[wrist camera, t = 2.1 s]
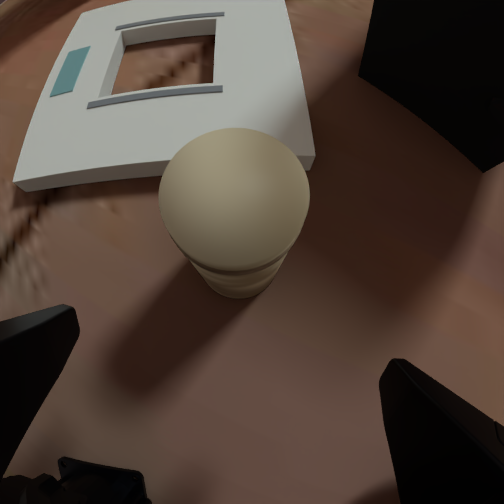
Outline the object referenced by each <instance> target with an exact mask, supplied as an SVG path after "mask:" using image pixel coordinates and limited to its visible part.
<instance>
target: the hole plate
mask: <svg viewBox="0 0 504 504" xmlns="http://www.w3.org/2000/svg"><path fill="white" fill-rule="evenodd" d="M214 34H216V35H215V53H214V74H213V83H206V84H193V85H182V86H172V87H163V88H155V89H147V90H140V91H134V92H127V93H121V94H116V95H111V93H112V89H113V86H114V82H115V79H116V76H117V72H118V69H119V66H120V63H121V60H122V57H123V54H124V51H125V48H126V46H127V45H132V44H138V43H143V42H150V41H156V40H163V39H171V38H179V37H189V36H200V35H214ZM224 128H246V129H252V130H256V131H260V132H263V133H265V134H268V135H270V136H272V137H274V138H276V139H277V140H279V141H280V142H282V143H283V144H284V145H286V146H287V147H288V148H289V149H290V150H291V151H292V152H293V153H294V154H295V155H296V157H297V158H298V160H299V161H300V163H301V164H302V166H303V168H304V170H310V169H311V166H312V164H313V161H314V159H315V156H316V155H315V148H314V142H313V136H312V130H311V124H310V118H309V112H308V107H307V101H306V96H305V91H304V86H303V80H302V75H301V70H300V66H299V61H298V56H297V52H296V47H295V43H294V38H293V34H292V29H291V25H290V21H289V17H288V13H287V9H286V5H285V1H284V0H131V1H127V2H122V3H118V4H114V5H110V6H106V7H102V8H98V9H94V10H91V11H87V12H84V13H82V14H81V16H80V17H79V19H78V21H77V22H76V24H75V26H74V28H73V29H72V31H71V33H70V35H69V37H68V39H67V40H66V42H65V44H64V46H63V48H62V50H61V52H60V54H59V56H58V58H57V60H56V62H55V64H54V66H53V68H52V71H51V73H50V75H49V77H48V79H47V82H46V84H45V86H44V89H43V91H42V94H41V96H40V98H39V101H38V104H37V106H36V109H35V111H34V114H33V117H32V120H31V122H30V125H29V128H28V131H27V134H26V137H25V140H24V143H23V147H22V150H21V153H20V157H19V160H18V164H17V167H16V171H15V175H14V179H13V183H14V184H16V185H17V186H18V187H20V188H21V189H22V190H24V191H25V192H31V191H37V190H43V189H49V188H56V187H63V186H70V185H77V184H85V183H93V182H101V181H110V180H119V179H129V178H140V177H151V176H163V173H164V171H165V169H166V167H167V165H168V164H169V162H170V160H171V159H172V158H173V157H174V155H175V154H176V153H177V152H178V151H179V150H180V149H181V148H182V147H183V146H185V145H186V144H187V143H188V142H190V141H192V140H193V139H195V138H197V137H198V136H201V135H203V134H205V133H208V132H211V131H214V130H219V129H224Z"/></svg>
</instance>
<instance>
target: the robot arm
mask: <svg viewBox="0 0 504 504" xmlns="http://www.w3.org/2000/svg"><path fill="white" fill-rule="evenodd" d="M79 334H80V328H79V323H78V319H77V315H76V311H75V309H74V308H73V307H71V306H68V305H64V304H61V305H57V306H54V307H50V308H47V309H43V310H40V311H36V312H33V313H29V314H25V315H22V316H18V317H15V318H11V319H8V320H4V321H1V322H0V504H152V501H151V500H150V499H149V498H147V494H146V488H145V482H144V477H143V475H142V474H141V473H140V472H139V471H136V470H129V469H123V468H116V467H110V466H105V465H100V464H94V463H90V462H85V461H80V460H76V459H72V458H68V457H61V458H60V459H59V460H58V466H59V470H60V474H61V479H60V480H58V481H57V480H56V479H55V478H54V477H53V476H51V475H48V474H45V473H43V474H41V475H40V476H38V477H36V478H34V479H30V478H27V477H25V476H22V475H16V476H9V477H7V478H3V475H4V473H5V471H6V469H7V467H8V465H9V463H10V461H11V460H12V458H13V456H14V454H15V452H16V450H17V448H18V446H19V444H20V442H21V441H22V439H23V437H24V435H25V433H26V431H27V430H28V428H29V426H30V424H31V422H32V421H33V419H34V417H35V415H36V414H37V412H38V410H39V409H40V407H41V405H42V404H43V402H44V400H45V398H46V397H47V395H48V393H49V392H50V390H51V389H52V387H53V385H54V384H55V382H56V380H57V379H58V377H59V375H60V374H61V372H62V370H63V368H64V366H65V364H66V362H67V360H68V358H69V356H70V354H71V352H72V350H73V348H74V346H75V344H76V342H77V340H78V337H79ZM379 390H380V398H381V405H382V413H383V421H384V427H385V432H386V436H387V441H388V445H389V449H390V454H391V458H392V463H393V468H394V472H395V477H396V482H397V487H398V493H399V498H400V503H401V504H504V426H502V425H501V424H499V423H498V422H496V421H494V420H493V419H491V418H490V417H488V416H487V415H485V414H484V413H483V412H481V411H480V410H478V409H477V408H475V407H474V406H472V405H471V404H469V403H468V402H467V401H465V400H464V399H462V398H461V397H459V396H458V395H456V394H455V393H453V392H452V391H450V390H449V389H448V388H446V387H445V386H443V385H442V384H440V383H439V382H437V381H436V380H434V379H433V378H432V377H430V376H429V375H427V374H426V373H424V372H423V371H421V370H420V369H418V368H417V367H416V366H414V365H413V364H411V363H410V362H408V361H407V360H405V359H398V358H393V359H391V360H390V362H389V363H388V365H387V367H386V369H385V370H384V372H383V374H382V375H381V377H380V380H379ZM63 462H65V463H66V465H67V466H66V465H65V464H64V463H63ZM133 476H136V477H137V478H138V480H136V479H135V478H134V477H133Z"/></svg>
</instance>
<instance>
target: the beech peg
mask: <svg viewBox="0 0 504 504" xmlns="http://www.w3.org/2000/svg"><path fill="white" fill-rule="evenodd" d="M309 201H310V189H309V183H308V179H307V176H306V173H305V170H304V168H303V166H302V164H301V163H300V161H299V160H298V158H297V157H296V155H295V154H294V153H293V152H292V151H291V150H290V149H289V148H288V147H287V146H286V145H284V144H283V143H282V142H280V141H279V140H277V139H276V138H274V137H272V136H270V135H268V134H265V133H263V132H260V131H256V130H252V129H246V128H224V129H219V130H214V131H211V132H208V133H205V134H203V135H201V136H198V137H197V138H195V139H193V140H192V141H190V142H188V143H187V144H186V145H185V146H183V147H182V148H181V149H180V150H179V151H178V152H177V153H176V154H175V155H174V157H173V158H172V159H171V160H170V162H169V164H168V165H167V167H166V169H165V171H164V173H163V176H162V179H161V182H160V187H159V208H160V213H161V217H162V220H163V222H164V224H165V226H166V229H167V230H168V232H169V234H170V236H171V238H172V239H173V241H174V242H175V244H176V245H177V247H178V248H179V249H180V251H181V252H182V253H183V254H184V255H185V256H186V257H187V258H188V259H189V260H190V262H191V263H192V264H193V266H194V267H195V268H196V270H197V271H198V272H199V273H200V275H201V276H202V277H203V279H204V280H205V281H206V283H207V284H208V285H209V286H210V287H211V288H212V289H213V290H214V291H215V292H217V293H219V294H220V295H223V296H225V297H228V298H233V299H244V298H249V297H252V296H255V295H257V294H259V293H260V292H262V291H263V290H264V289H265V288H267V287H268V285H269V284H270V283H271V282H272V280H273V278H274V277H275V275H276V273H277V271H278V269H279V267H280V266H281V264H282V262H283V260H284V258H285V257H286V255H287V253H288V251H289V250H290V248H291V247H292V246H293V244H294V243H295V241H296V239H297V237H298V236H299V234H300V232H301V229H302V227H303V224H304V220H305V218H306V216H307V212H308V208H309Z"/></svg>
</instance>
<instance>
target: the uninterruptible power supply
mask: <svg viewBox="0 0 504 504" xmlns="http://www.w3.org/2000/svg"><path fill="white" fill-rule="evenodd" d="M358 76H359V77H361V78H363V79H364V80H366V81H367V82H369V83H370V84H372V85H374V86H375V87H377V88H378V89H380V90H381V91H383V92H384V93H386V94H387V95H389V96H390V97H391V98H393V99H394V100H396V101H397V102H399V103H400V104H401V105H403V106H404V107H406V108H407V109H408V110H410V111H411V112H412V113H414V114H415V115H416V116H418V117H419V118H420V119H422V120H423V121H424V122H425V123H427V124H428V125H429V126H430V127H432V128H433V129H434V130H435V131H437V132H438V133H439V134H440V135H442V136H443V137H444V138H445V139H446V140H448V141H449V142H450V143H451V144H452V145H453V146H454V147H456V148H457V149H458V150H459V151H460V152H461V153H462V154H463V155H465V156H466V157H467V158H468V159H469V160H470V161H471V162H472V163H473V164H474V165H475V166H476V167H477V168H478V169H480V170H481V171H482V172H483V173H484V172H486V171H488V170H489V169H491V168H493V167H495V166H496V165H498V164H500V163H502V162H504V0H374V3H373V8H372V14H371V19H370V24H369V29H368V33H367V38H366V43H365V47H364V52H363V57H362V61H361V66H360V70H359V74H358Z"/></svg>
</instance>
